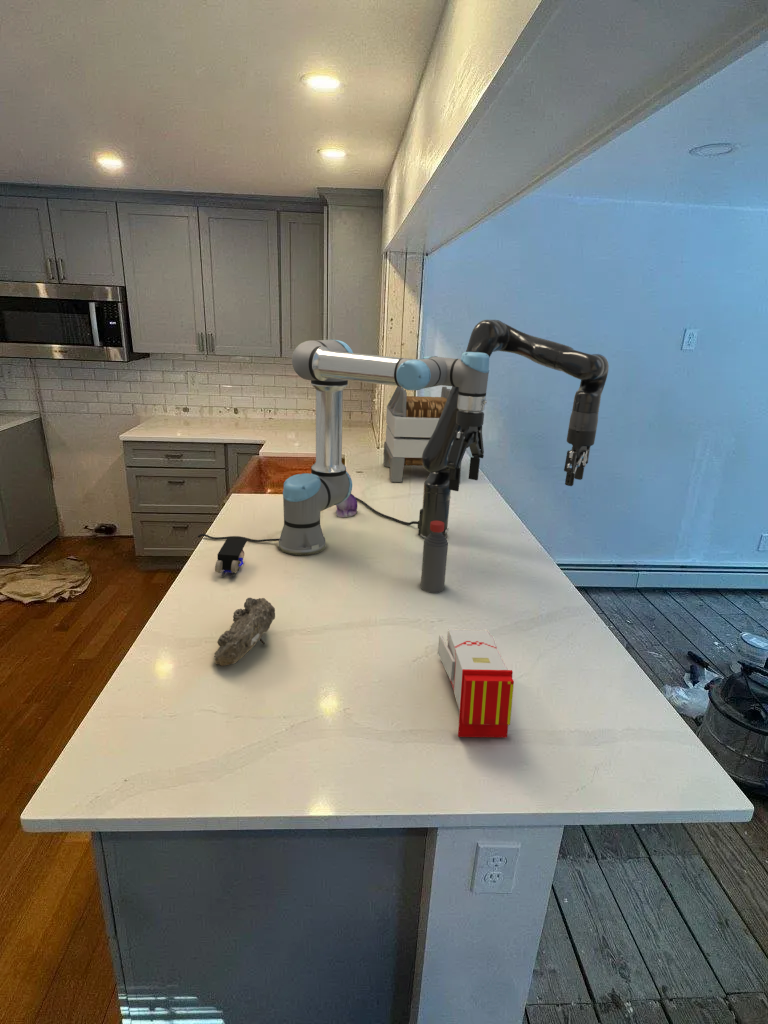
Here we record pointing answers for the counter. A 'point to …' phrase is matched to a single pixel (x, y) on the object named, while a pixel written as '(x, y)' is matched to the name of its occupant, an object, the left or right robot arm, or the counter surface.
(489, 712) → the toy
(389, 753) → the counter surface
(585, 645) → the counter surface
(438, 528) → the cap
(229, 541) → the black toy car
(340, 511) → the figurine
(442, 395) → the grey boxy piece
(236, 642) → the fossil
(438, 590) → the bottle
